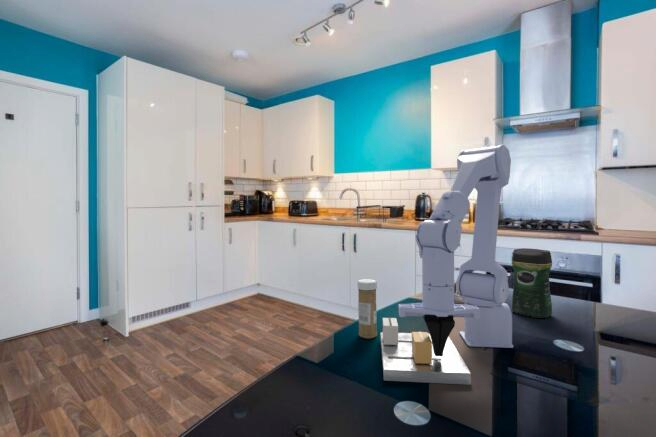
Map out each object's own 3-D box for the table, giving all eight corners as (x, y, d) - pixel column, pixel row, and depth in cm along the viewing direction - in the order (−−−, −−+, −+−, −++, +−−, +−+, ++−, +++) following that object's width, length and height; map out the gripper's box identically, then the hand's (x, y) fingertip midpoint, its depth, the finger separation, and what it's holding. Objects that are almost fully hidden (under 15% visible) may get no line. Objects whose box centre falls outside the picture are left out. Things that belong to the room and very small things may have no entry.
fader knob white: (396, 335, 76) (396, 317, 76) (398, 344, 71) (398, 325, 71) (382, 335, 77) (382, 317, 76) (383, 344, 72) (383, 324, 71)
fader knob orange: (427, 352, 68) (427, 331, 68) (431, 363, 63) (431, 341, 63) (411, 351, 68) (411, 331, 68) (415, 363, 63) (415, 341, 63)
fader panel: (447, 343, 77) (447, 333, 77) (470, 384, 60) (470, 372, 59) (380, 340, 79) (380, 331, 79) (383, 380, 61) (383, 368, 61)
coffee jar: (555, 315, 96) (556, 249, 95) (544, 321, 91) (545, 251, 90) (519, 307, 103) (519, 246, 102) (507, 312, 98) (507, 248, 97)
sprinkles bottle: (381, 336, 82) (380, 280, 81) (366, 340, 79) (365, 283, 79) (368, 330, 86) (368, 277, 85) (354, 334, 83) (353, 279, 83)
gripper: (400, 287, 61) (401, 362, 62) (485, 289, 60) (485, 365, 60) (397, 279, 68) (397, 346, 69) (473, 280, 67) (472, 348, 67)
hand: (438, 354), depth 65 cm, fingers closed
